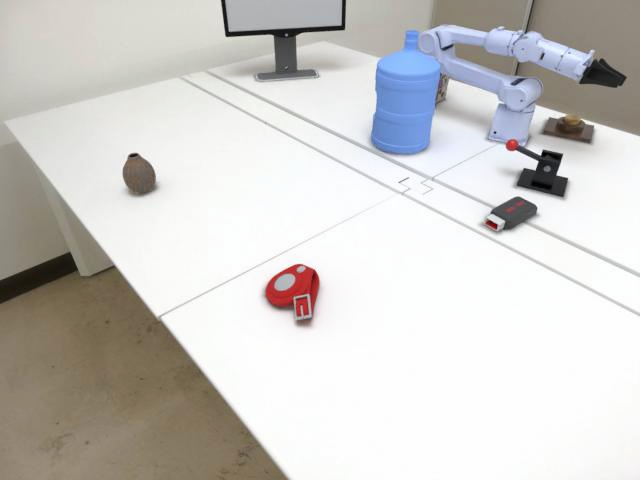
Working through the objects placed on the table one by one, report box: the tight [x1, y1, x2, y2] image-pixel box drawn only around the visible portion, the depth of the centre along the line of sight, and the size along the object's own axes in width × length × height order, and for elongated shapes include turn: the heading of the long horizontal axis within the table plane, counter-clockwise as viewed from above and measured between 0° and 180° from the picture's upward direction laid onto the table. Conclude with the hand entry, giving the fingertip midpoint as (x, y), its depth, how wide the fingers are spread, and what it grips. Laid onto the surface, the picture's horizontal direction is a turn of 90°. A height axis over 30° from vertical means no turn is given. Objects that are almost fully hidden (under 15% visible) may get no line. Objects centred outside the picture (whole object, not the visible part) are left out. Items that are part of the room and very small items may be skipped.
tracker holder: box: [265, 263, 320, 321], centre depth 77 cm, size 12×4×10 cm
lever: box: [505, 139, 558, 162], centre depth 104 cm, size 12×3×3 cm, turn 61°
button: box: [563, 113, 582, 125], centre depth 126 cm, size 4×4×2 cm
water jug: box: [370, 29, 441, 155], centre depth 115 cm, size 16×16×28 cm
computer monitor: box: [220, 0, 347, 83], centre depth 153 cm, size 41×8×40 cm, turn 102°
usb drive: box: [483, 195, 538, 232], centre depth 95 cm, size 5×12×3 cm, turn 126°
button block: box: [542, 116, 595, 144], centre depth 127 cm, size 12×10×3 cm
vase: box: [122, 152, 157, 195], centre depth 103 cm, size 7×7×9 cm
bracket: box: [516, 149, 569, 198], centre depth 104 cm, size 10×8×7 cm
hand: (621, 82), depth 102 cm, fingers open, 7 cm apart
